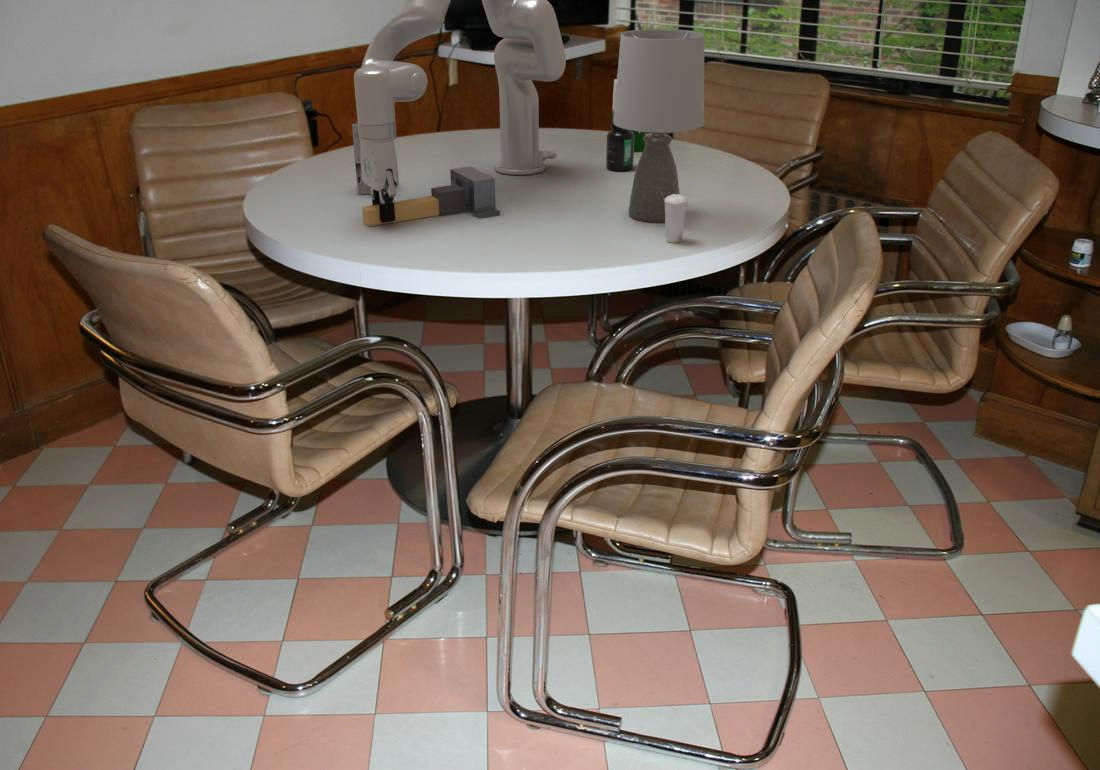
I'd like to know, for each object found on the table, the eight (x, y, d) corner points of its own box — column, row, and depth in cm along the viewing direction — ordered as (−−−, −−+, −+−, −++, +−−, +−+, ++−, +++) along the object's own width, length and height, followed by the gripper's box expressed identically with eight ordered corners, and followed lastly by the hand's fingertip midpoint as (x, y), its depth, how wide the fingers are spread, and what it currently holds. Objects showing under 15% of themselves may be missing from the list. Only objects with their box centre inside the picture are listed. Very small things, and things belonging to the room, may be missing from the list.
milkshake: (656, 237, 198) (658, 188, 194) (682, 236, 199) (685, 187, 194) (660, 244, 194) (662, 194, 190) (687, 243, 195) (690, 193, 190)
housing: (468, 197, 225) (466, 164, 222) (500, 215, 213) (499, 180, 209) (448, 200, 223) (446, 167, 220) (479, 218, 211) (477, 183, 207)
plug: (457, 206, 218) (456, 184, 216) (465, 211, 215) (465, 189, 213) (362, 221, 209) (360, 198, 206) (370, 227, 205) (367, 203, 203)
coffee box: (383, 195, 227) (377, 124, 220) (356, 194, 228) (350, 123, 221) (396, 185, 235) (391, 116, 228) (371, 184, 236) (365, 115, 229)
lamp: (715, 215, 212) (728, 33, 196) (659, 234, 200) (668, 42, 184) (649, 198, 224) (656, 26, 208) (593, 215, 212) (595, 34, 196)
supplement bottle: (634, 172, 246) (635, 123, 240) (606, 172, 246) (607, 123, 241) (632, 165, 252) (634, 117, 247) (605, 165, 252) (606, 117, 247)
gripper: (346, 126, 205) (354, 212, 213) (374, 141, 192) (381, 232, 200) (380, 122, 208) (386, 207, 217) (410, 136, 196) (416, 226, 204)
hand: (384, 218), depth 208 cm, fingers closed on plug, 3 cm apart
